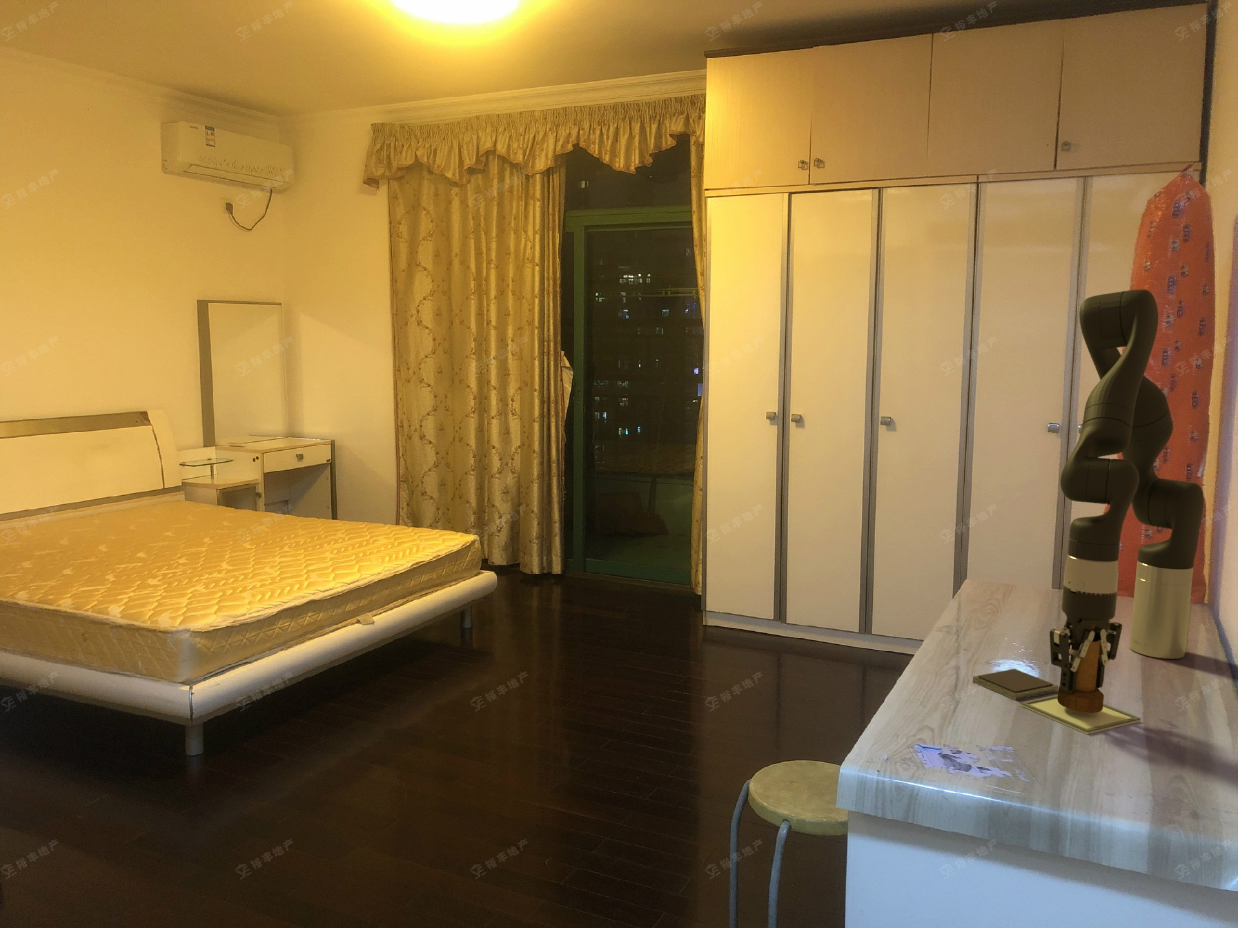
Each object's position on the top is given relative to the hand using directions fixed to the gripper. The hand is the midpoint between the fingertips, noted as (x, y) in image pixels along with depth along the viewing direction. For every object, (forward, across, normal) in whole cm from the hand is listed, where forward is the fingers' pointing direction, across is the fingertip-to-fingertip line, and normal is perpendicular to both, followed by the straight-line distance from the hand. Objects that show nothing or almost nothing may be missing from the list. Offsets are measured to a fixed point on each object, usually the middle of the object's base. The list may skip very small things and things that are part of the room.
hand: (1081, 688), depth 148 cm
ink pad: (+4, 0, -12) cm, 13 cm away
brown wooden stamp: (+3, 0, 0) cm, 3 cm away
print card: (+4, 0, 0) cm, 4 cm away
